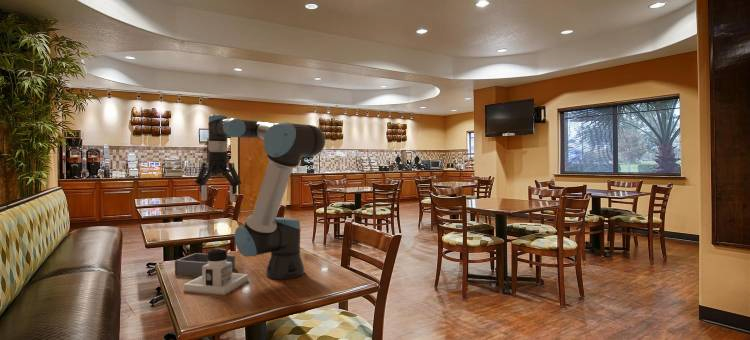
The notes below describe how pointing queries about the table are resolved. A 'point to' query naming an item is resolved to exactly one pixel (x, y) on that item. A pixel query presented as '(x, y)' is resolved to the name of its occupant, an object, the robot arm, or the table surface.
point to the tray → (217, 290)
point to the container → (217, 269)
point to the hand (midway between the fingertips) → (218, 201)
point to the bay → (195, 264)
